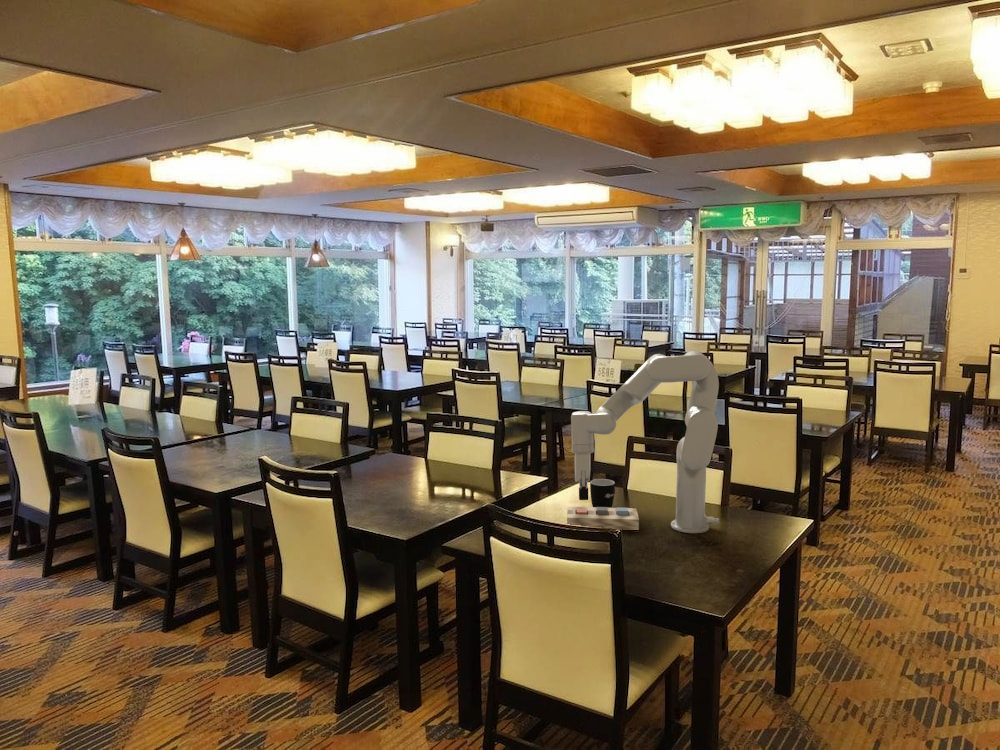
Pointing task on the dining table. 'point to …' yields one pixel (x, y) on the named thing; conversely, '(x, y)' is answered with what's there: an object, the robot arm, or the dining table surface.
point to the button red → (581, 511)
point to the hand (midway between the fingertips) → (583, 499)
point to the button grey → (602, 511)
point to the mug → (602, 492)
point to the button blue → (622, 511)
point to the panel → (603, 518)
